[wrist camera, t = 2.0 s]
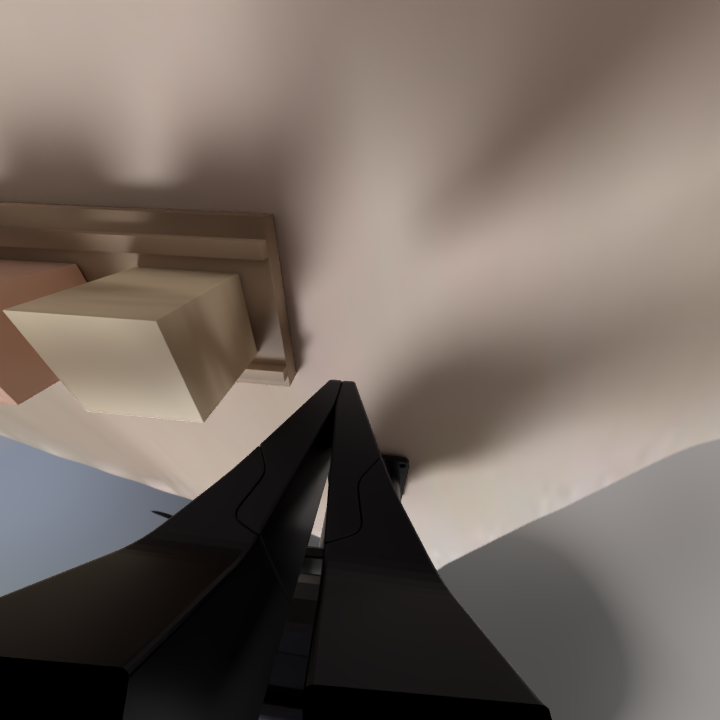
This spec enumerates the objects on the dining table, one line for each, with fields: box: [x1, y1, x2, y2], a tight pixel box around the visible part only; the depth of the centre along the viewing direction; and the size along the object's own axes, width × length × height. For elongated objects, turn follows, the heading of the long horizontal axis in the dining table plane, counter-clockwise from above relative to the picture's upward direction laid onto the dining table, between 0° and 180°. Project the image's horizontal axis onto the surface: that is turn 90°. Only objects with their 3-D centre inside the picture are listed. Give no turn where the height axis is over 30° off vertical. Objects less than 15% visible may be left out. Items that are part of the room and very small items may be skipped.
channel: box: [0, 202, 296, 386], centre depth 14 cm, size 9×22×2 cm, turn 88°
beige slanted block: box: [3, 267, 258, 423], centre depth 11 cm, size 4×5×5 cm
